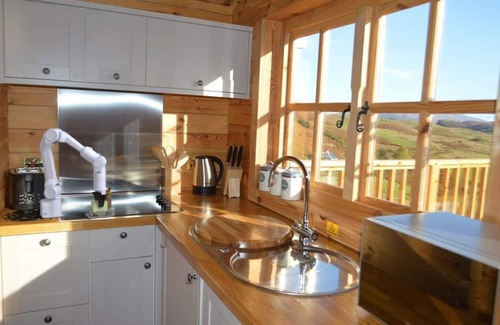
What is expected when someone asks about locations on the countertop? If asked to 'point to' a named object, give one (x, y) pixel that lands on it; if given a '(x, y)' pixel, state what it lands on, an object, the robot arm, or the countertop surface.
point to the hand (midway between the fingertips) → (99, 206)
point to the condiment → (109, 198)
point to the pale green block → (96, 208)
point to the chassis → (99, 214)
